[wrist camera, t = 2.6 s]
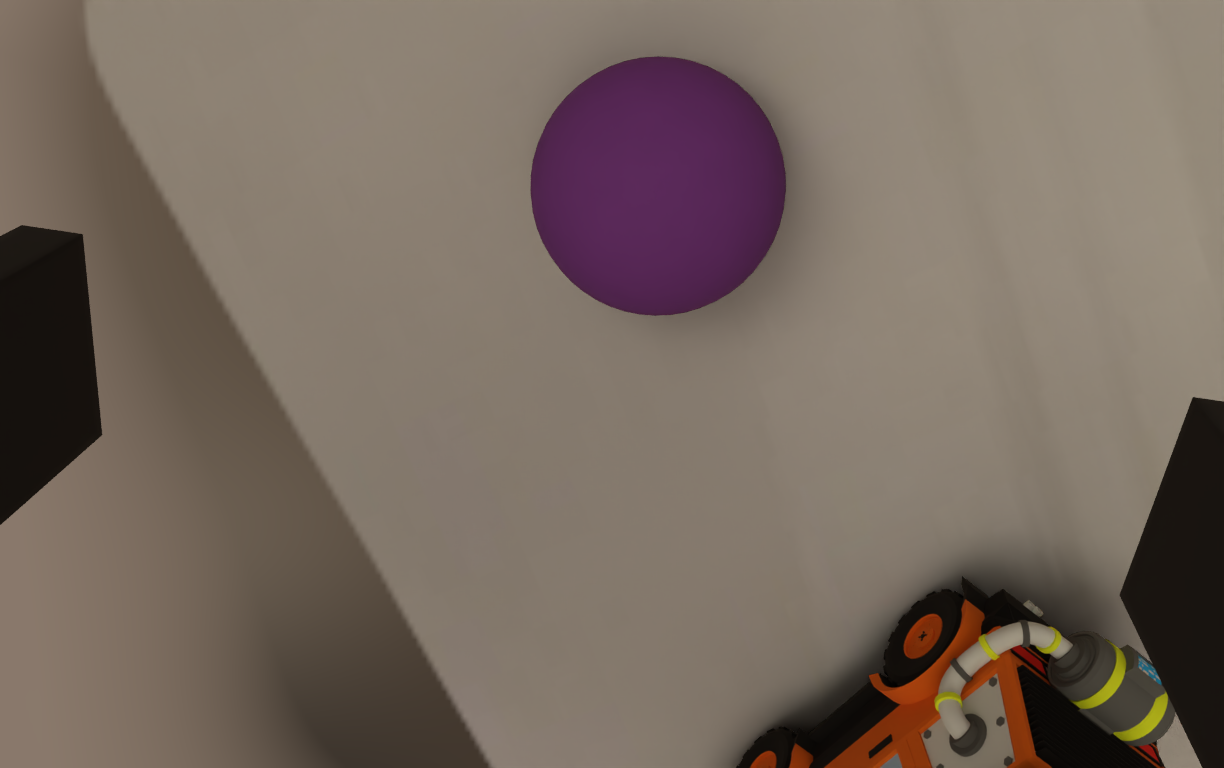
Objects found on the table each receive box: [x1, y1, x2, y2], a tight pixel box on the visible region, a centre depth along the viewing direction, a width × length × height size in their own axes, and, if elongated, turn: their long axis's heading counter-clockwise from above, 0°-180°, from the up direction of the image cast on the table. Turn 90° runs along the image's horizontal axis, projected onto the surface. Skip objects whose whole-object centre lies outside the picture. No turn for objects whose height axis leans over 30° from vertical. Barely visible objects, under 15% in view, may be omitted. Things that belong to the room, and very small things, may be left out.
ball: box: [531, 57, 786, 316], centre depth 22 cm, size 5×5×5 cm
